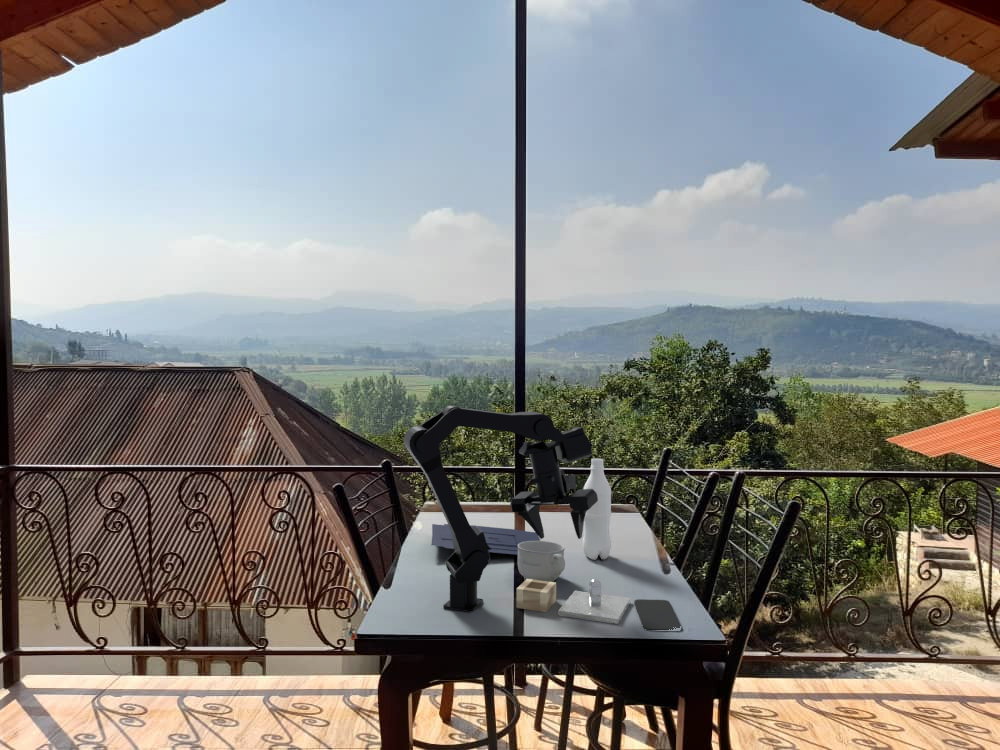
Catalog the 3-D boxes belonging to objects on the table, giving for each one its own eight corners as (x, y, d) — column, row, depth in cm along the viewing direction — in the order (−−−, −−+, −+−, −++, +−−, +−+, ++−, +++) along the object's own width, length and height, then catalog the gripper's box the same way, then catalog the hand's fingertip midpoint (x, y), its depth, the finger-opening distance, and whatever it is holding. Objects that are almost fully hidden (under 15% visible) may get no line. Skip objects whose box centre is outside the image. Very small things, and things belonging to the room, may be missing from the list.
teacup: (510, 574, 165) (510, 541, 165) (552, 569, 169) (552, 536, 169) (534, 594, 152) (534, 558, 152) (578, 588, 156) (579, 553, 156)
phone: (644, 628, 133) (633, 599, 148) (644, 633, 133) (633, 603, 148) (683, 629, 133) (668, 599, 148) (683, 634, 133) (668, 603, 148)
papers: (431, 531, 198) (432, 519, 198) (535, 541, 201) (537, 529, 201) (430, 558, 174) (431, 543, 174) (549, 569, 177) (550, 554, 177)
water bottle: (610, 562, 174) (611, 462, 173) (581, 560, 176) (581, 461, 174) (611, 553, 181) (612, 457, 180) (583, 552, 183) (584, 456, 182)
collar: (546, 612, 142) (546, 592, 142) (516, 607, 145) (516, 588, 145) (556, 601, 148) (556, 582, 148) (527, 597, 151) (527, 578, 151)
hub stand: (618, 624, 136) (618, 592, 136) (558, 615, 141) (558, 585, 140) (630, 602, 147) (630, 573, 147) (574, 595, 152) (574, 566, 151)
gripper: (600, 455, 152) (614, 523, 154) (526, 460, 162) (540, 524, 164) (579, 472, 143) (594, 544, 145) (502, 476, 153) (517, 543, 155)
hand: (561, 538), depth 152 cm, fingers open, 9 cm apart
